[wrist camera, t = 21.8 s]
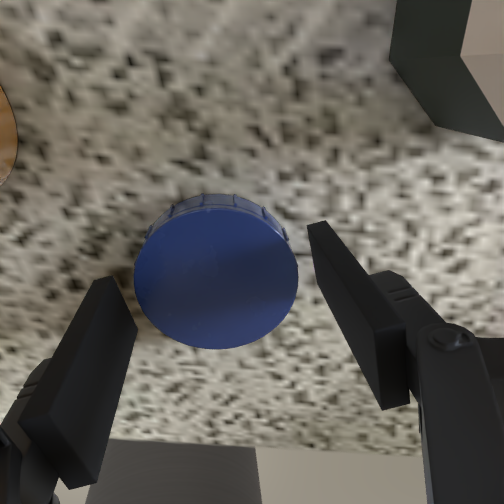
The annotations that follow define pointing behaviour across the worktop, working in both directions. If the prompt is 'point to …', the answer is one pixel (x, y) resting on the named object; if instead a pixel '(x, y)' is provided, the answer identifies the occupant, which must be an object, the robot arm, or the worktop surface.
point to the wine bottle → (453, 61)
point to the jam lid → (216, 272)
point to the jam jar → (7, 138)
